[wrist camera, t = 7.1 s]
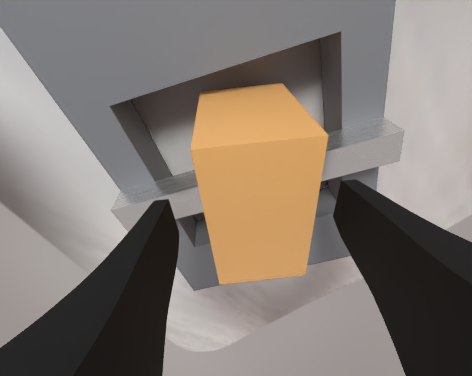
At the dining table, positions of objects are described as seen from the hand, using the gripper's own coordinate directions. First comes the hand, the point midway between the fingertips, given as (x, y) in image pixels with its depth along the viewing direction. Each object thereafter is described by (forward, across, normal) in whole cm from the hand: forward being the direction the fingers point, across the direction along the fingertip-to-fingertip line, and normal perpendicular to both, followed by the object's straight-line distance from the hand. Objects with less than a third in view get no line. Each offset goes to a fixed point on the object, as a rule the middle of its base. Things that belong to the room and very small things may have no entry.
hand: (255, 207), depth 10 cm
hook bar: (+3, 0, 0) cm, 3 cm away
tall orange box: (+5, 0, 0) cm, 5 cm away
